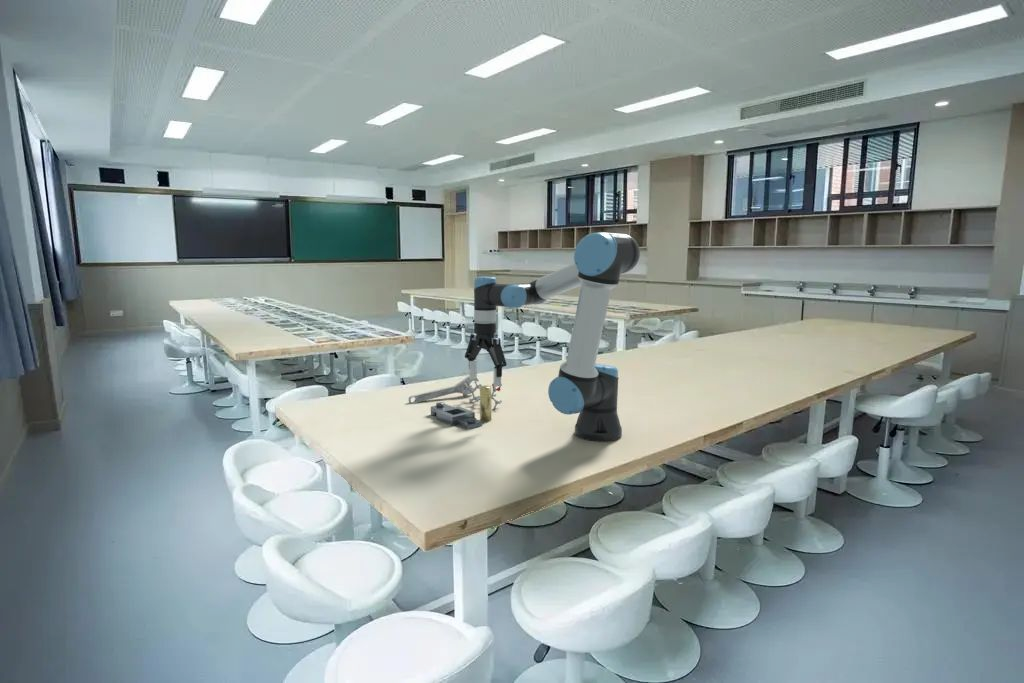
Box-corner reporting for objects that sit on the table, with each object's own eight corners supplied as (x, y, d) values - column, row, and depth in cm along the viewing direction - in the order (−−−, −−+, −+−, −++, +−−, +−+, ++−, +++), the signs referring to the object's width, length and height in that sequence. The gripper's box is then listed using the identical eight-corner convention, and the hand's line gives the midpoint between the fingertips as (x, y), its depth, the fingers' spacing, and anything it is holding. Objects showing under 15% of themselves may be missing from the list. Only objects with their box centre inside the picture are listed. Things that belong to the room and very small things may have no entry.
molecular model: (458, 402, 218) (458, 377, 218) (480, 400, 224) (481, 376, 223) (483, 412, 202) (483, 385, 202) (506, 409, 208) (507, 383, 207)
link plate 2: (486, 424, 189) (486, 417, 189) (463, 430, 183) (463, 423, 183) (458, 414, 201) (458, 407, 201) (436, 419, 195) (436, 412, 195)
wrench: (409, 409, 218) (478, 392, 231) (411, 411, 216) (480, 393, 229) (406, 390, 216) (476, 374, 229) (408, 391, 214) (478, 374, 228)
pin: (493, 420, 194) (493, 387, 192) (484, 422, 192) (484, 388, 190) (486, 417, 197) (486, 384, 195) (477, 419, 195) (477, 386, 193)
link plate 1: (474, 420, 194) (474, 409, 193) (452, 425, 188) (452, 414, 187) (448, 410, 206) (448, 400, 205) (426, 415, 200) (426, 404, 199)
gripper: (517, 325, 182) (516, 387, 186) (471, 317, 201) (471, 374, 204) (500, 327, 177) (499, 391, 181) (454, 319, 196) (455, 377, 199)
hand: (484, 382), depth 193 cm, fingers open, 13 cm apart
